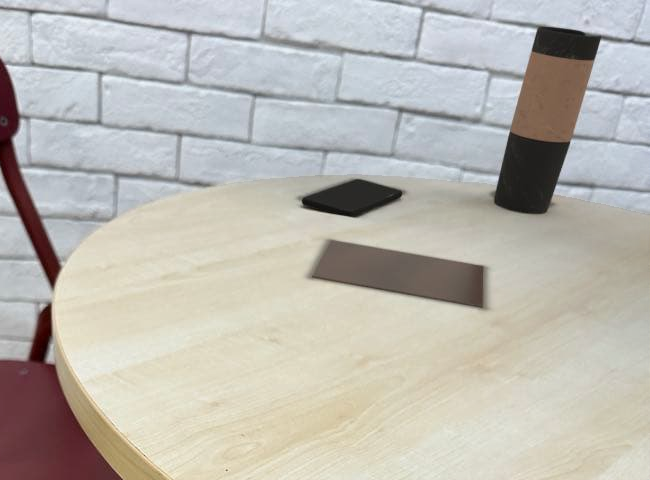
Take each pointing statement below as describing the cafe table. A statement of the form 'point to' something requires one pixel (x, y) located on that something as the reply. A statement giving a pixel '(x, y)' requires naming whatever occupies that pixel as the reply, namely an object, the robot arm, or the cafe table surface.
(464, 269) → the coaster board
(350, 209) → the smartphone
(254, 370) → the cafe table surface
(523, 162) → the travel mug
